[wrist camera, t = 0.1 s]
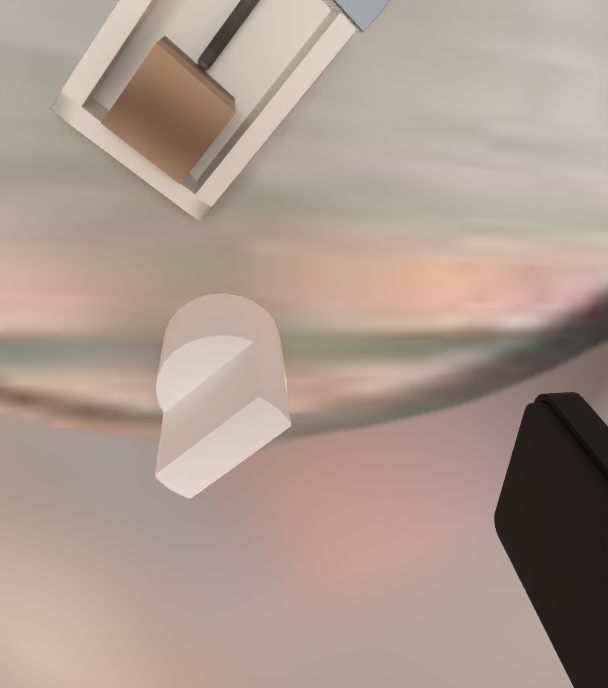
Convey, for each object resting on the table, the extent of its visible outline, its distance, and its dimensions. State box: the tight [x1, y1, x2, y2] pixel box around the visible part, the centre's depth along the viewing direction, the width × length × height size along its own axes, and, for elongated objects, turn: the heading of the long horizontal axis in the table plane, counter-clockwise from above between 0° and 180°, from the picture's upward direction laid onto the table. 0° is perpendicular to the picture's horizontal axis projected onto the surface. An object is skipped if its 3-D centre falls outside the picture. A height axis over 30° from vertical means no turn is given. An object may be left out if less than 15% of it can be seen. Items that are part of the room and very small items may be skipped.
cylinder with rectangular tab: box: [155, 293, 291, 498], centre depth 39 cm, size 9×9×12 cm
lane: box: [50, 0, 357, 222], centre depth 32 cm, size 14×10×4 cm
